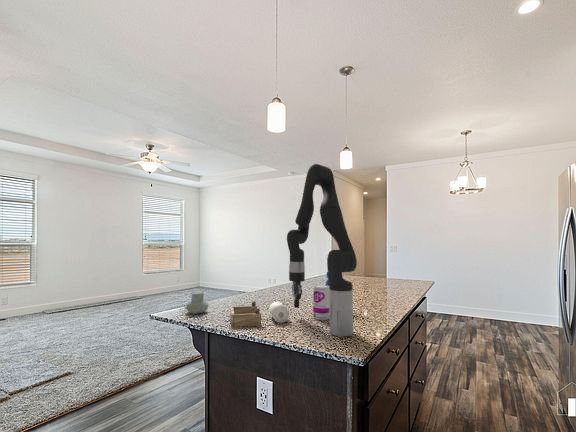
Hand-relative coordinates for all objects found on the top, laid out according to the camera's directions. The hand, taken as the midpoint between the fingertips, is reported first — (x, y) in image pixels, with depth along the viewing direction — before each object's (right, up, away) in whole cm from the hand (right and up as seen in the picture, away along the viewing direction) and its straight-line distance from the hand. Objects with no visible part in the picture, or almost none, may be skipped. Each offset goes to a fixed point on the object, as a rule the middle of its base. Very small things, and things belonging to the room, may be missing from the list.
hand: (296, 307), depth 149 cm
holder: (-24, -5, -6) cm, 25 cm away
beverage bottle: (+20, -7, +19) cm, 28 cm away
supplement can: (+12, -5, 0) cm, 13 cm away
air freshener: (-51, -6, +11) cm, 52 cm away
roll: (-8, -1, -3) cm, 9 cm away
